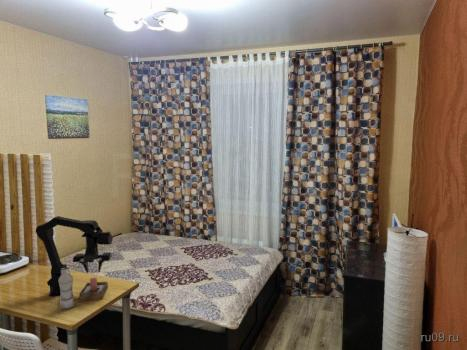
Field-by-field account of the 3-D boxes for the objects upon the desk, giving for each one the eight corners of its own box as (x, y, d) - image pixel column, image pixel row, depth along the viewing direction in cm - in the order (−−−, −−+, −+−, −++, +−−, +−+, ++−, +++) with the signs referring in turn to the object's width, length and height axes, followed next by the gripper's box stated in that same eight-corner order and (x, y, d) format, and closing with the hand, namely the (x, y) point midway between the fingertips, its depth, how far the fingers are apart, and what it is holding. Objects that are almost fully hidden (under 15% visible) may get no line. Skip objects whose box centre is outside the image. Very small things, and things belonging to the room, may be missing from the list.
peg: (92, 293, 185) (91, 277, 184) (98, 292, 185) (97, 277, 184) (90, 295, 181) (89, 279, 180) (96, 295, 182) (95, 279, 181)
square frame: (80, 300, 176) (79, 293, 176) (87, 289, 189) (87, 282, 188) (101, 299, 177) (101, 291, 177) (107, 288, 190) (107, 281, 190)
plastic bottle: (63, 304, 172) (60, 266, 170) (76, 304, 172) (74, 266, 170) (57, 311, 166) (54, 272, 163) (71, 310, 166) (69, 271, 164)
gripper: (68, 250, 172) (70, 279, 174) (106, 248, 174) (107, 277, 176) (75, 243, 183) (77, 271, 185) (111, 242, 185) (112, 269, 187)
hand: (93, 272), depth 183 cm, fingers open, 6 cm apart
